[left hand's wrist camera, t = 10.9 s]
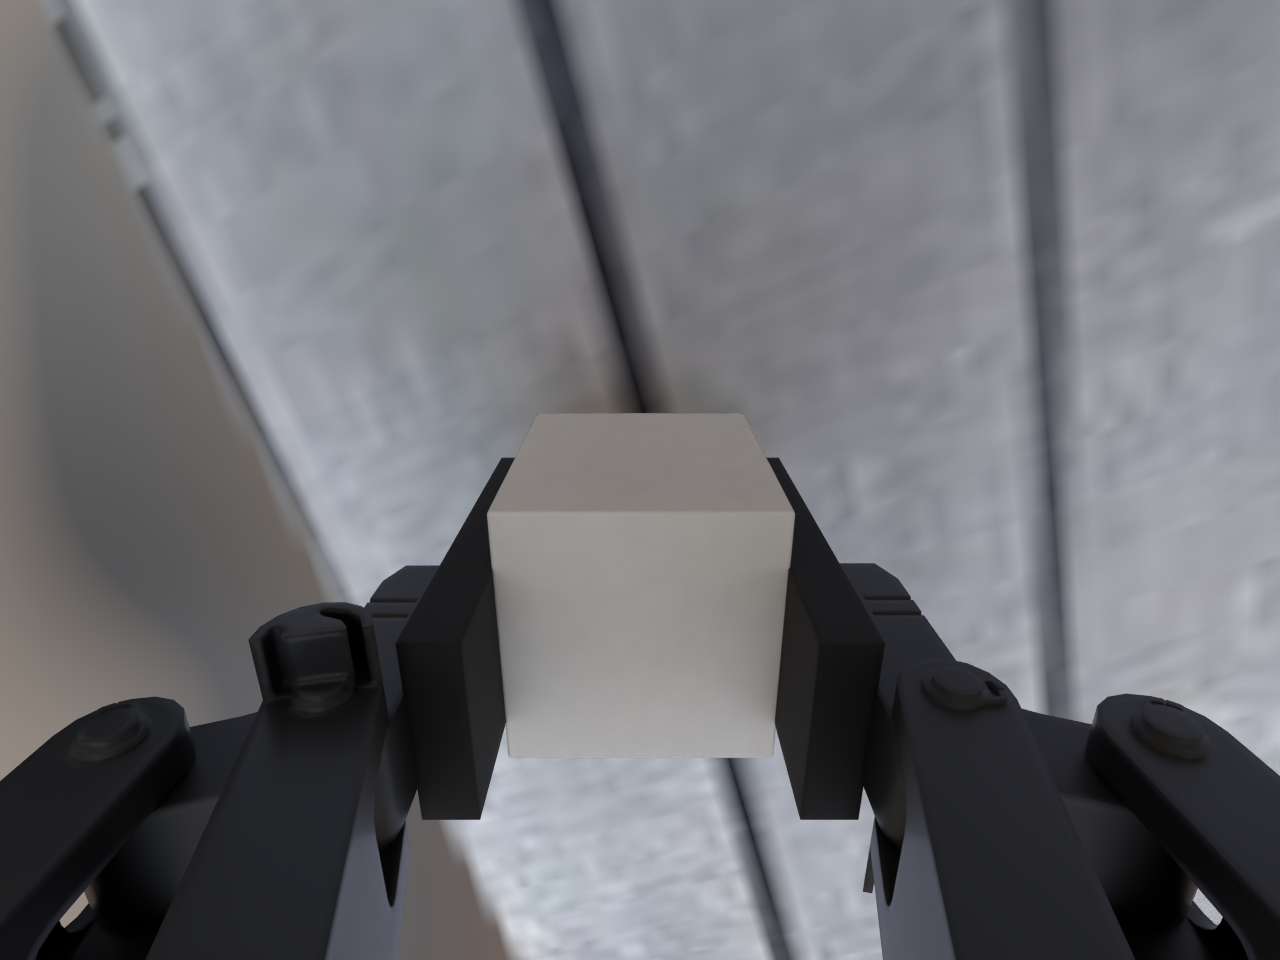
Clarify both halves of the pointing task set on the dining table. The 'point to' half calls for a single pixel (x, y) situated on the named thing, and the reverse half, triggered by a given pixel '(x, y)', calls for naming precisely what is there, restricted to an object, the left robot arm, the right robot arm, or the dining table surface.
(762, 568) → the block
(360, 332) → the dining table surface
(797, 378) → the dining table surface
